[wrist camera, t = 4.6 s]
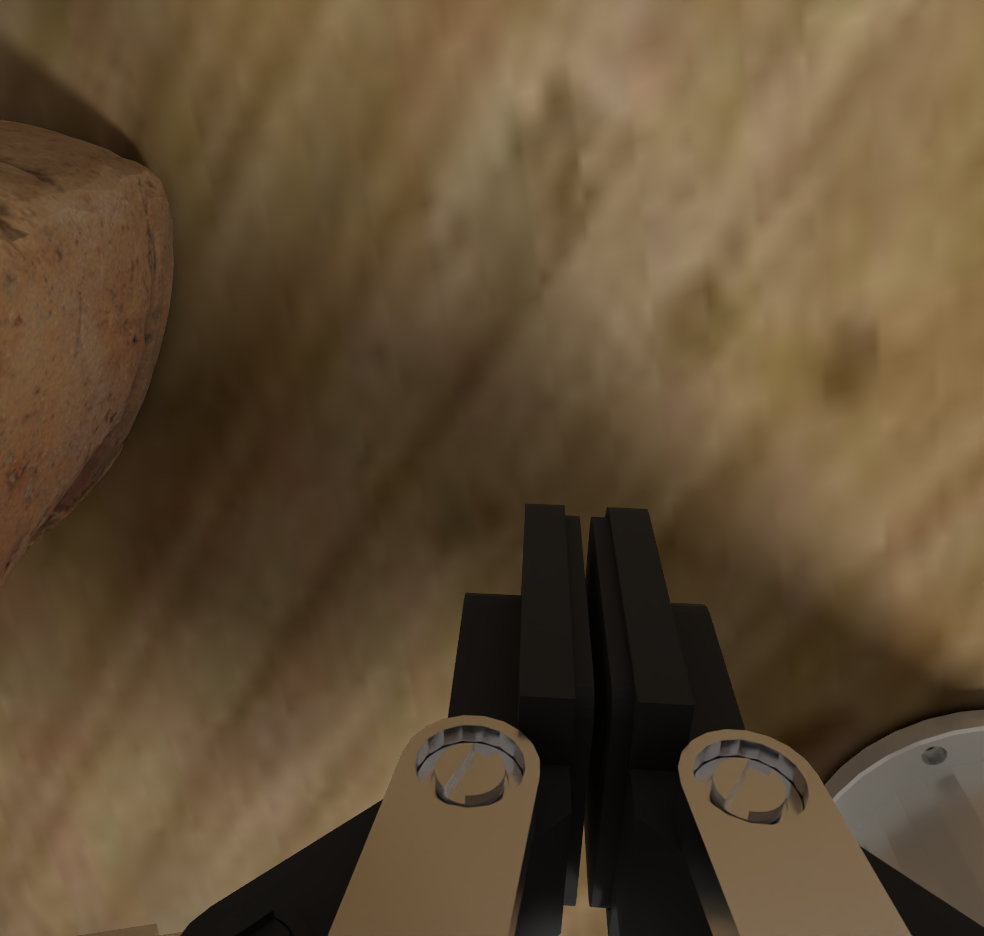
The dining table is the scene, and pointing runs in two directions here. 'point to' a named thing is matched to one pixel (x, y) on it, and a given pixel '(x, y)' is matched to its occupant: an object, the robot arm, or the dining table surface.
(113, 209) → the block
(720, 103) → the dining table surface
